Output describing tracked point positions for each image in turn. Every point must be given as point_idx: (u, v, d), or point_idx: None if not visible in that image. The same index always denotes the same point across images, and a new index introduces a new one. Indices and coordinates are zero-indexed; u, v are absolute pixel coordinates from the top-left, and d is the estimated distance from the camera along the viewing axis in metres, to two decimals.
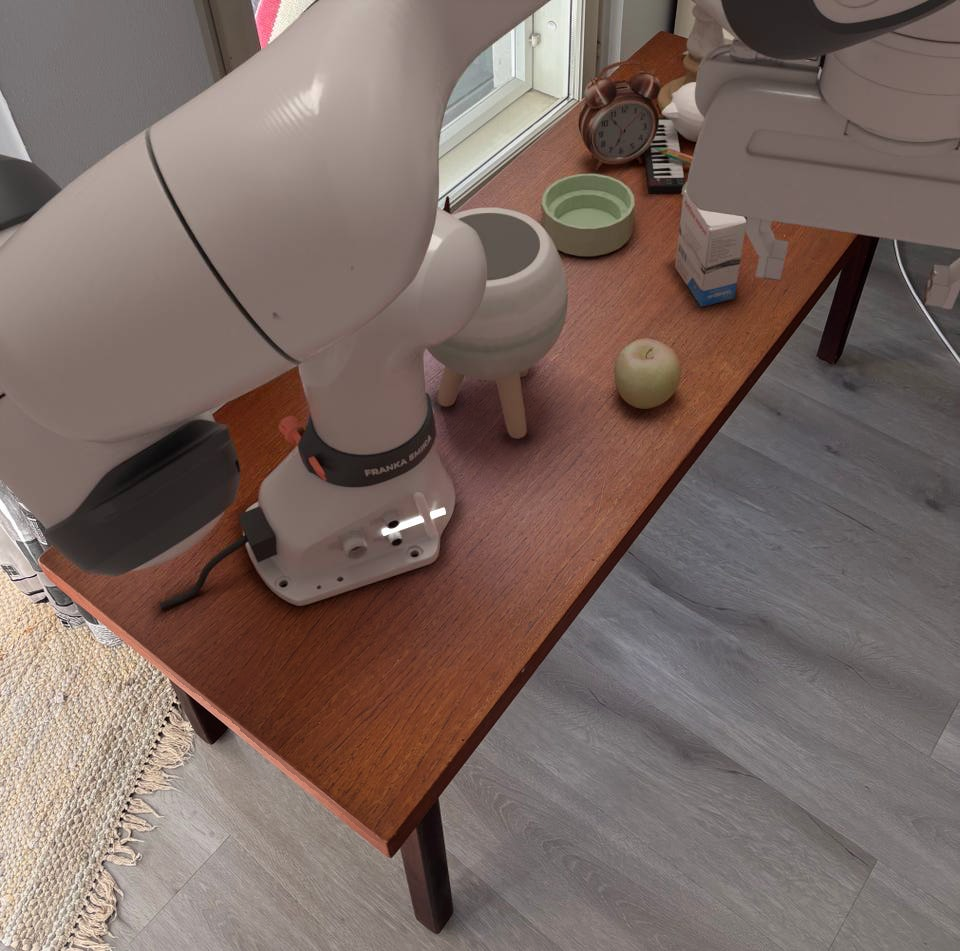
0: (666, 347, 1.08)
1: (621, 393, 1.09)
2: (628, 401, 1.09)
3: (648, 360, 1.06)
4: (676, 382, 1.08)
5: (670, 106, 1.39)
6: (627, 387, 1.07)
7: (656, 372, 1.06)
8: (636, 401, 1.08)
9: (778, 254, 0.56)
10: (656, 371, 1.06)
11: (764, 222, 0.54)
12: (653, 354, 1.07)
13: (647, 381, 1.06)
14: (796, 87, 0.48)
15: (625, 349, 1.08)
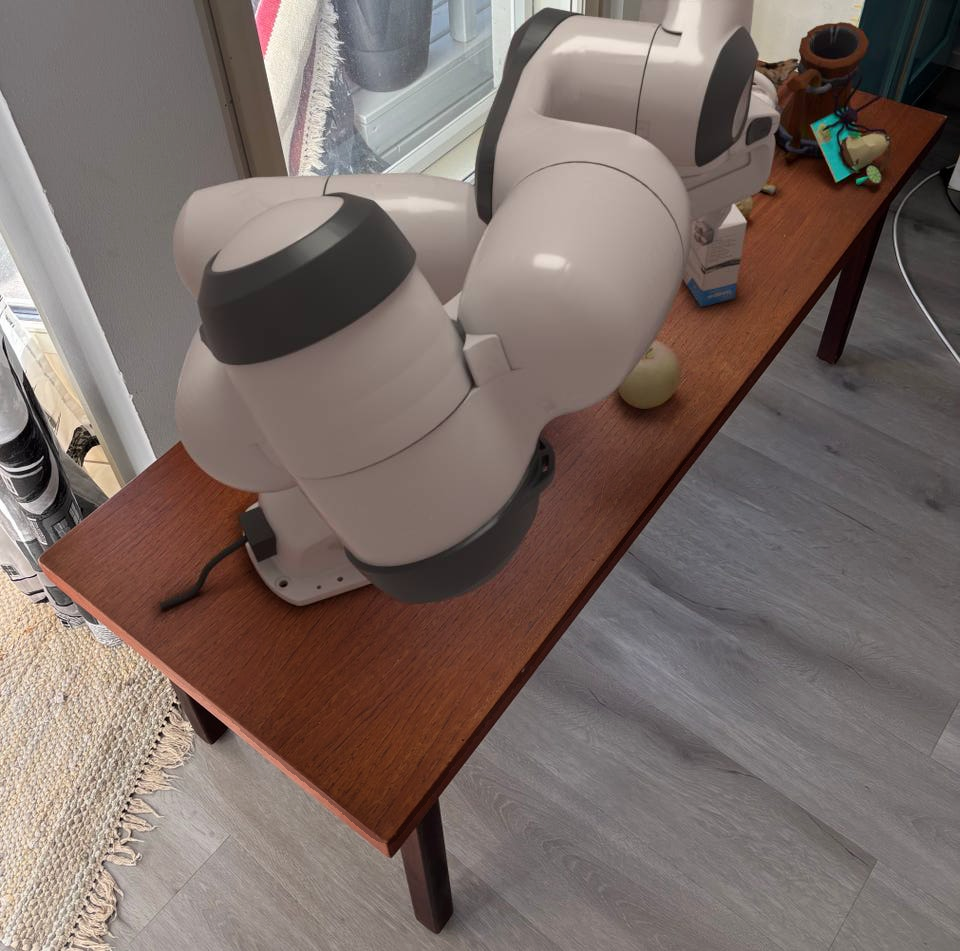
0: (666, 347, 1.08)
1: (621, 393, 1.09)
2: (628, 401, 1.09)
3: (648, 360, 1.06)
4: (676, 382, 1.08)
5: None
6: (627, 387, 1.07)
7: (656, 372, 1.06)
8: (636, 401, 1.08)
9: None
10: (656, 371, 1.06)
11: None
12: (653, 354, 1.07)
13: (647, 381, 1.06)
14: None
15: None
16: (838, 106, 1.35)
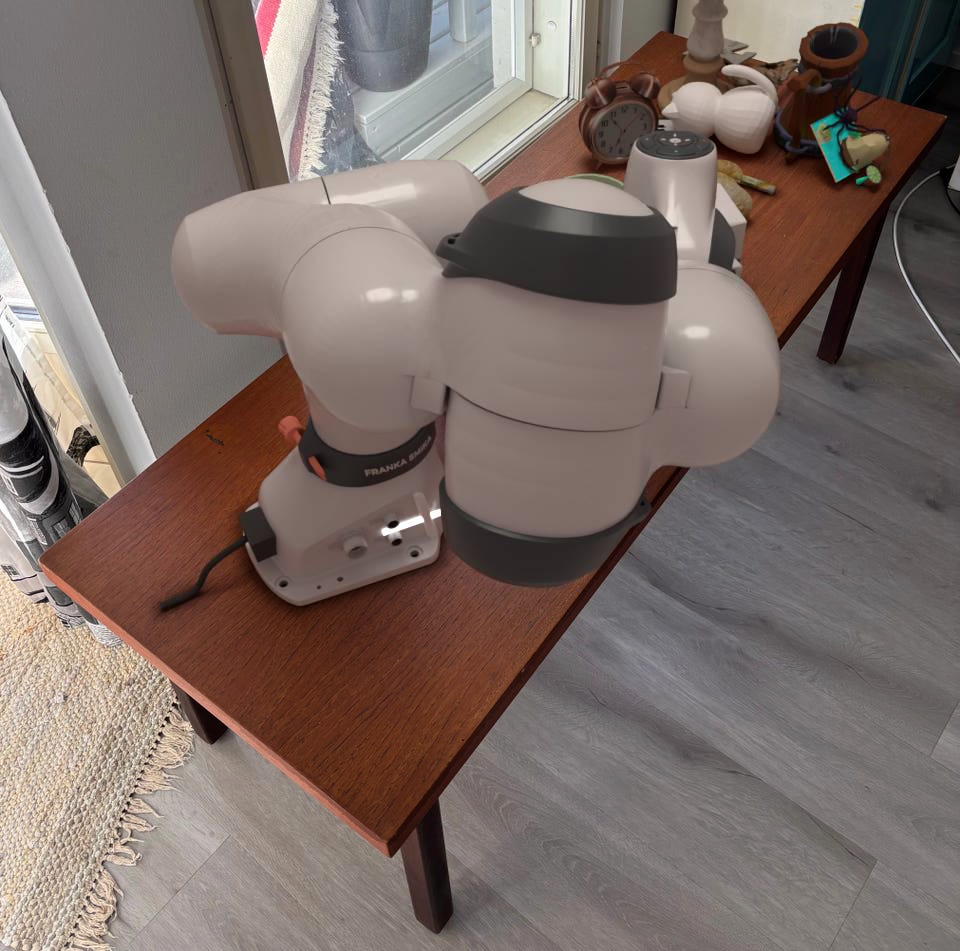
0: None
1: None
2: None
3: None
4: None
5: (670, 106, 1.39)
6: None
7: None
8: None
9: None
10: None
11: None
12: None
13: None
14: None
15: None
16: (838, 106, 1.35)
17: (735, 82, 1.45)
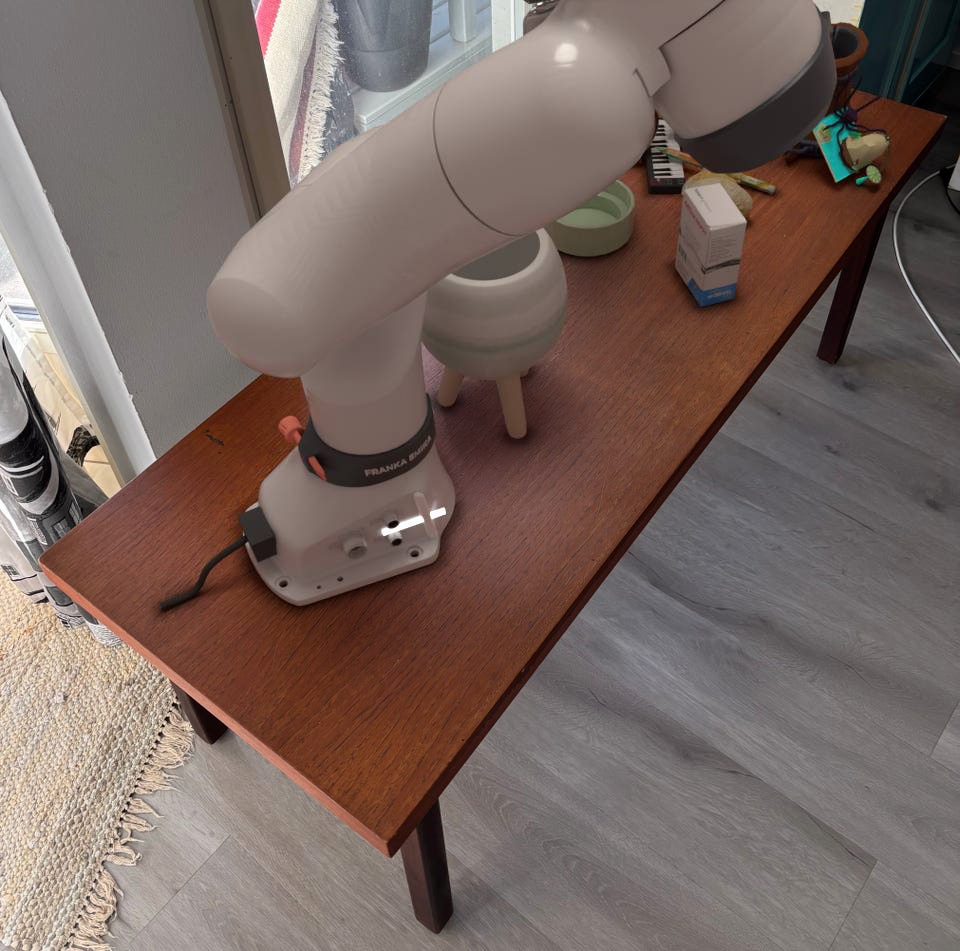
0: None
1: None
2: None
3: None
4: None
5: None
6: None
7: None
8: None
9: None
10: None
11: None
12: None
13: None
14: None
15: None
16: (838, 106, 1.35)
17: None
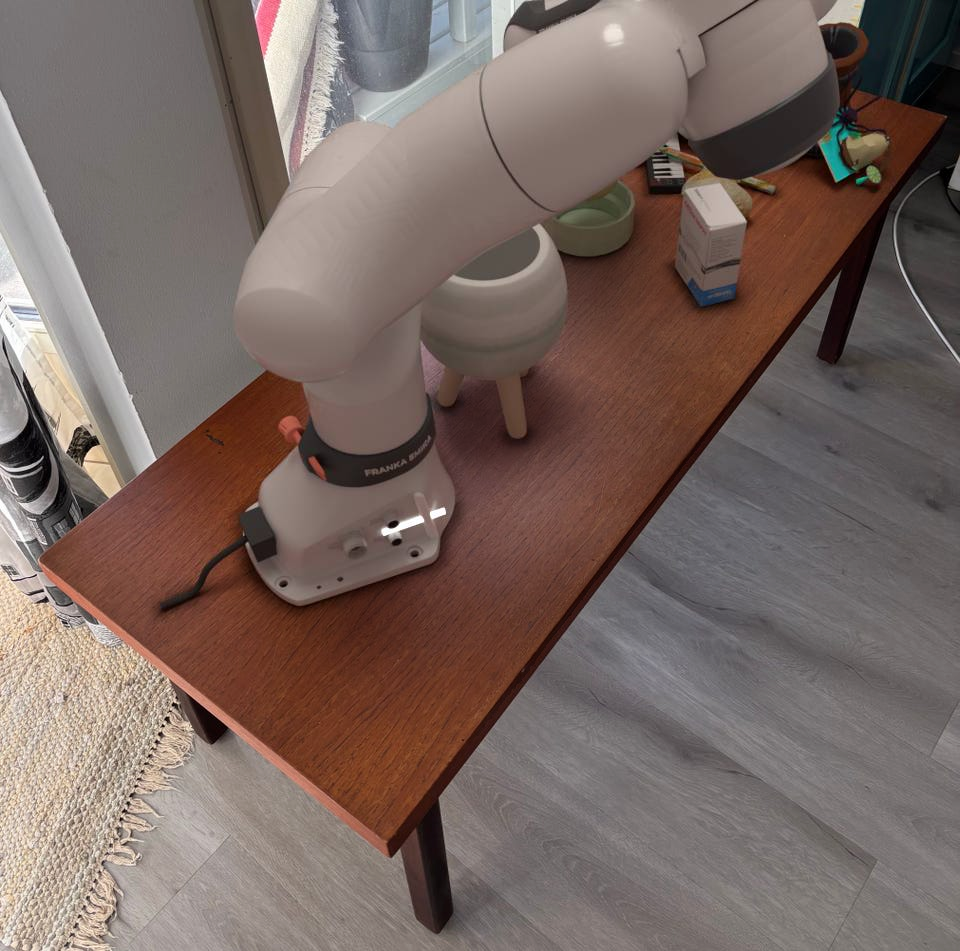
0: None
1: None
2: None
3: None
4: None
5: None
6: None
7: None
8: None
9: None
10: None
11: None
12: None
13: None
14: None
15: None
16: None
17: None
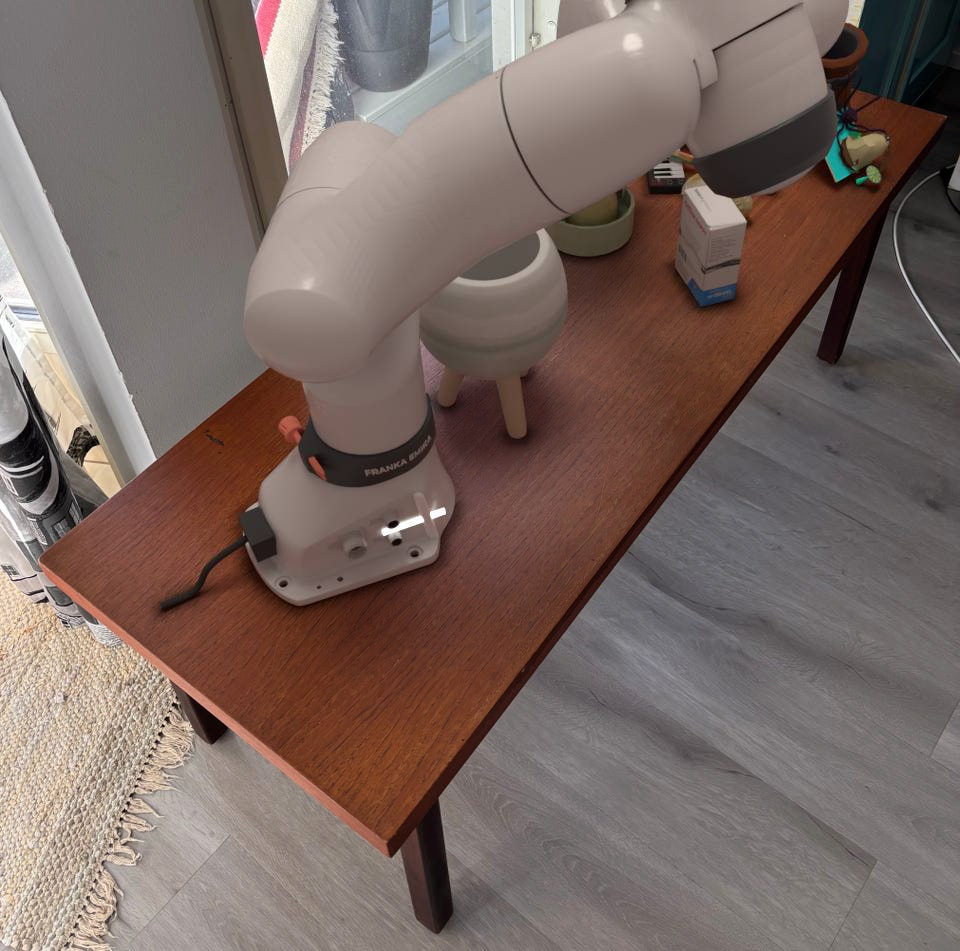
0: None
1: (566, 222, 1.28)
2: None
3: None
4: (612, 211, 1.27)
5: None
6: None
7: None
8: None
9: None
10: None
11: None
12: None
13: (587, 208, 1.25)
14: None
15: None
16: (838, 106, 1.35)
17: None
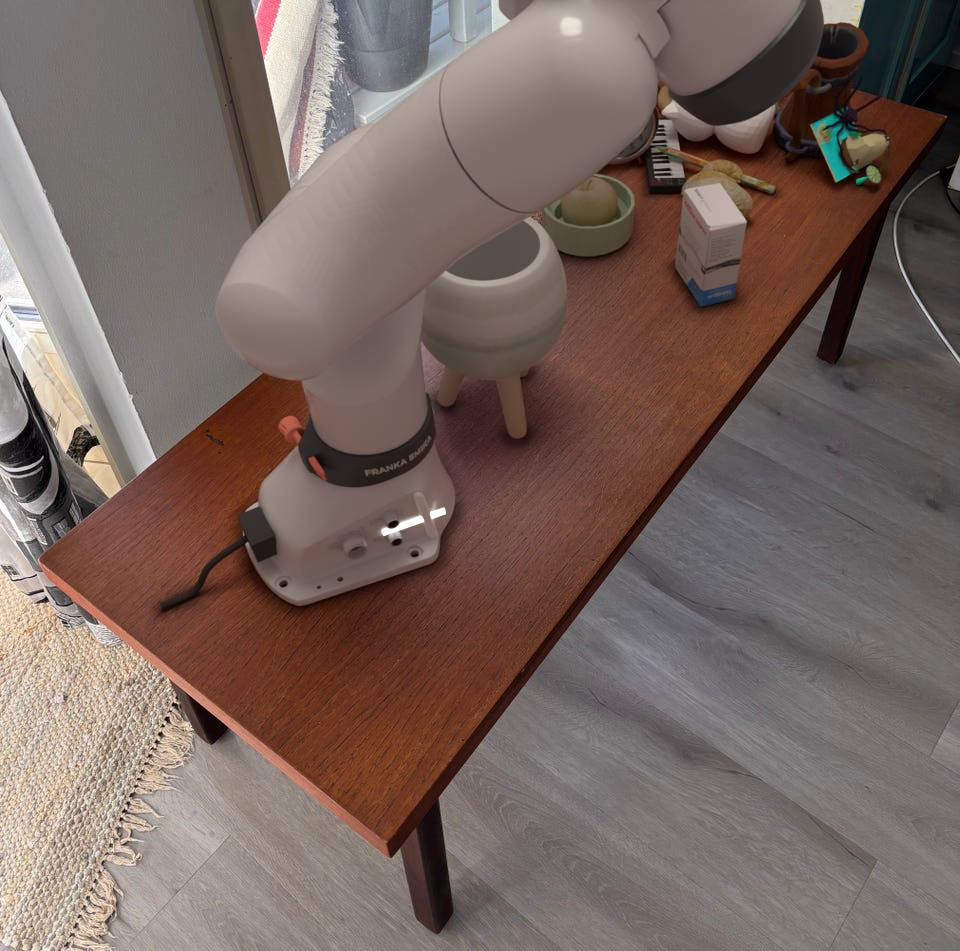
0: (604, 181, 1.27)
1: (566, 222, 1.28)
2: None
3: (588, 191, 1.25)
4: (612, 211, 1.27)
5: (670, 106, 1.39)
6: (571, 214, 1.26)
7: (594, 200, 1.25)
8: None
9: None
10: (595, 199, 1.25)
11: None
12: (593, 186, 1.26)
13: (587, 208, 1.25)
14: None
15: None
16: (838, 106, 1.35)
17: None
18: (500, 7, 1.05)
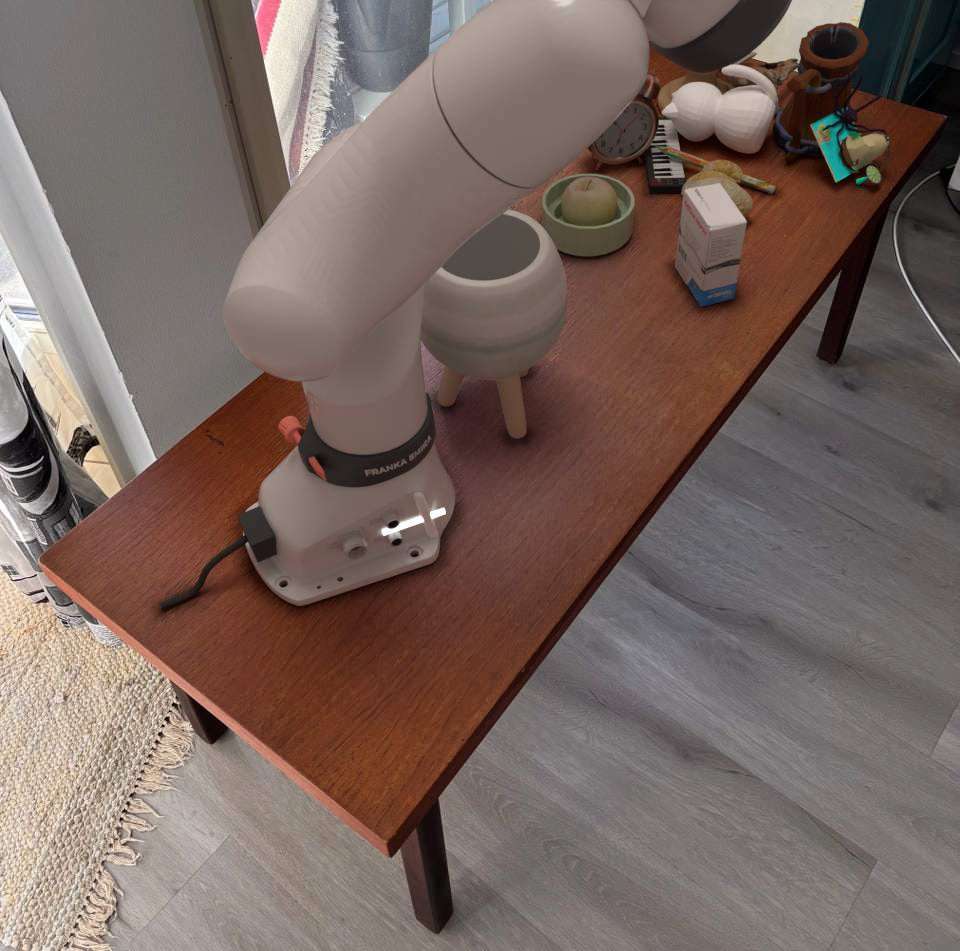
0: (604, 181, 1.27)
1: (566, 222, 1.28)
2: None
3: (588, 191, 1.25)
4: (612, 211, 1.27)
5: (670, 106, 1.39)
6: (571, 214, 1.26)
7: (594, 200, 1.25)
8: None
9: None
10: (595, 199, 1.25)
11: None
12: (593, 186, 1.26)
13: (587, 208, 1.25)
14: None
15: (570, 184, 1.27)
16: (838, 106, 1.35)
17: (735, 82, 1.45)
18: None
